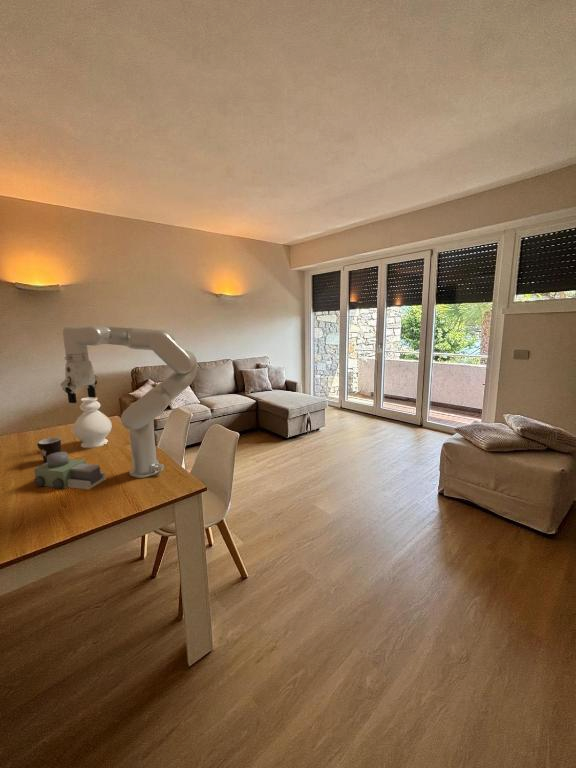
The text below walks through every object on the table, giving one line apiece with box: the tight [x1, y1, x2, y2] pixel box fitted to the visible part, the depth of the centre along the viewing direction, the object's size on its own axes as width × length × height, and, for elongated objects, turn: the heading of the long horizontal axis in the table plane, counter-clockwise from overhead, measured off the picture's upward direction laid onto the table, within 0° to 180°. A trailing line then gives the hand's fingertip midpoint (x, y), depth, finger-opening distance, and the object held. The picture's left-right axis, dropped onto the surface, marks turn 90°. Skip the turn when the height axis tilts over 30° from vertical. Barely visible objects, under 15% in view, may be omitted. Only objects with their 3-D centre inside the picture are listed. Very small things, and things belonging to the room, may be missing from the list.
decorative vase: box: [72, 396, 113, 449], centre depth 174 cm, size 18×18×25 cm
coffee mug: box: [37, 436, 62, 464], centre depth 155 cm, size 12×9×10 cm
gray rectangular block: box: [71, 463, 101, 485], centre depth 133 cm, size 9×5×6 cm, turn 78°
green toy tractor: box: [33, 451, 107, 491], centre depth 134 cm, size 24×13×11 cm, turn 78°
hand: (82, 399), depth 134 cm, fingers open, 9 cm apart
